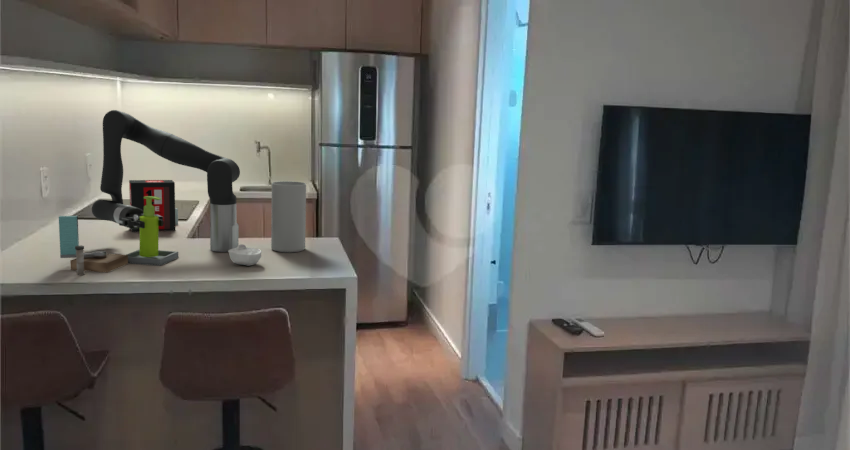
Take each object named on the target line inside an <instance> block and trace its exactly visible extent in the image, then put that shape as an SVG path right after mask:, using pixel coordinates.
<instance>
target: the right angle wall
mask: <svg viewBox="0 0 850 450" xmlns="http://www.w3.org/2000/svg"><path fill="white" fill-rule="evenodd" d="M176 225H179V209H178V208H176V207H175V226H176Z"/></svg>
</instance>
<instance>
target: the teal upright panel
mask: <svg viewBox="0 0 850 450" xmlns="http://www.w3.org/2000/svg"><path fill="white" fill-rule="evenodd" d="M58 229H59V231H58V233H59V252H60V256H59V257H60V259H76V249H75V246H80V241H79V240H80V238H79V236H80V234H79V216H78V215H59V216H58ZM107 254H108V253H107V251H104V250H96V251H93V252H84V258H86V257H93V258H104V257H107Z"/></svg>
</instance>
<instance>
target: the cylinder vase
mask: <svg viewBox="0 0 850 450" xmlns="http://www.w3.org/2000/svg"><path fill="white" fill-rule="evenodd" d="M306 212H307V183H306V182H301V181H288V180H287V181H285V180H284V181H272V182H271V225H270V226H271V227H270V228H271V232H270V233H271V234H270V235H271V237H270V238H271V239H270V241H271V242H270V243H271V244H270V246H271V250H273V251H275V252H279V253H298V252H299V253H300V252H303V251H304V250H305V248H306V227H307V226H306V220H307V219H306Z"/></svg>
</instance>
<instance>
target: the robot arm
mask: <svg viewBox="0 0 850 450" xmlns="http://www.w3.org/2000/svg"><path fill="white" fill-rule="evenodd" d="M123 139H126V140H129V141H131V142H134V143H137V144H140V145H142V146H144V147H145V148H146V149H149V150H150V151H151V152H152V153H154V154H155V155H157V156H159V157H161V158H162V159H165V160H168V161H170V162H172V163H174V164H178V165H181V166H185V167H190V168H193V169H198V170H200V171H203V172H206V180H207V181H206V182H207V183H206V185H207V187H206V188H207V195H208V198H209V220H210V221H209V227H210V228H209V240H210V241H209V246H210V251H213V252H220V253H225V252H228V250H230V249H233V248H237V246H239V223H237V196H236V195H235V193H234V189H233V183H235V182H236V181H237V180H238V179H239V177H240V176H241V170H240V167H239V165H238V164H237V162H235V160H232V159H231V158H228V157H224V156H221V155H218V154H215V153H213V152H211V151H208V150H205V149H203V148H202V147H200V146H198V145H196V144H194V143H192V142H190V141H188V140H185V139H184V138H182V137H180V136H177V135H175V134H173V133H170V132H168V131H165V130H162V129H158V128H154V127H152V126H150V125H149V124H146V123H144V122H142V121H140V119H138V118H136V117H135V116H132V115H131V114H129V113H126V112H124V111H122V110H117V109H113V110H109V111H107V112H106V113H105V115H104V116H103V119H102V147H103V148H102V151H103V159H102V170H101V171H102V172H101V179H100V186H99V187H100V191H101V193H103V194H107V195H109V196H110V197H111V200H108V199H97V200H96V201H94V202H93V204H91V205H92V206H91V213H92V215H93V216H94V217H95V218H96V219H98V220H102V221H109V222H113V223H115V224H118V225H119V226H121V227H125V228H128V229H130V230H131V229H138V228H145V223H144V221H140V216H144V211H143V210H141V209H140V208H137V207H133V206H130V204H124V200H123V192H122V188H123V179H124V164H123V159H122V150H121V149H122V141H123ZM154 216H158V217H159V223H158V226H163V225H164V220H163V217H162V216H160V215H158V214H155V215H154ZM228 253H229V252H228Z"/></svg>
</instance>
